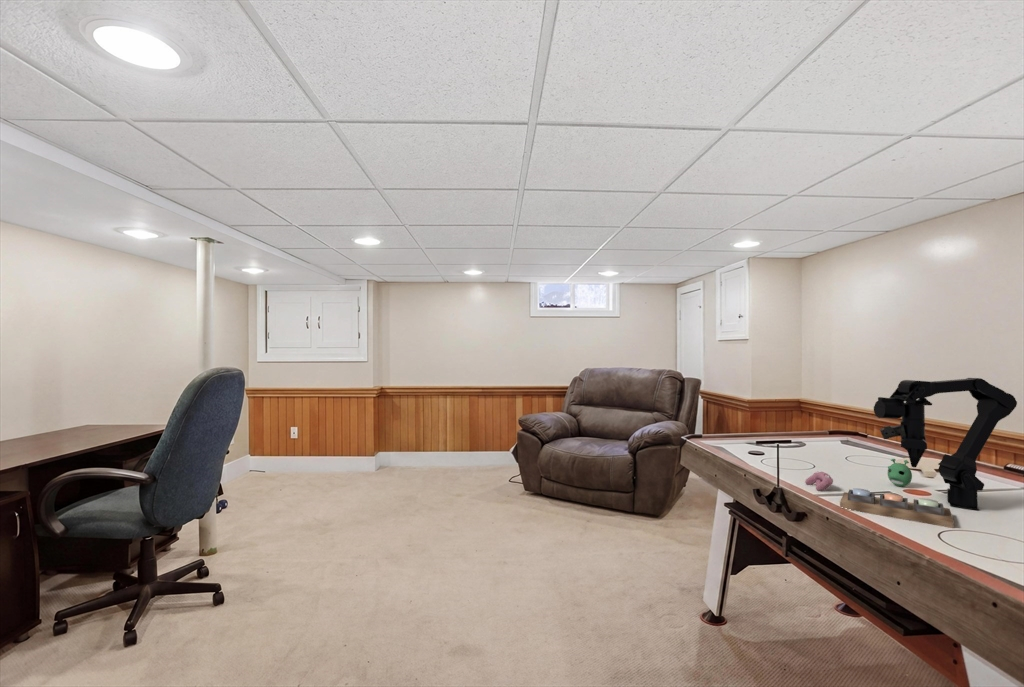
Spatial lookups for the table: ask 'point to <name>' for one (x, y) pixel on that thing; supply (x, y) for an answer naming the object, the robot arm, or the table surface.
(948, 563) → the table surface
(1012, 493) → the table surface
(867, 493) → the slate button
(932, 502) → the sage button
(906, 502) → the button panel
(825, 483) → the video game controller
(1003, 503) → the table surface
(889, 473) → the alien toy
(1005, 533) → the table surface
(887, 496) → the terracotta button
